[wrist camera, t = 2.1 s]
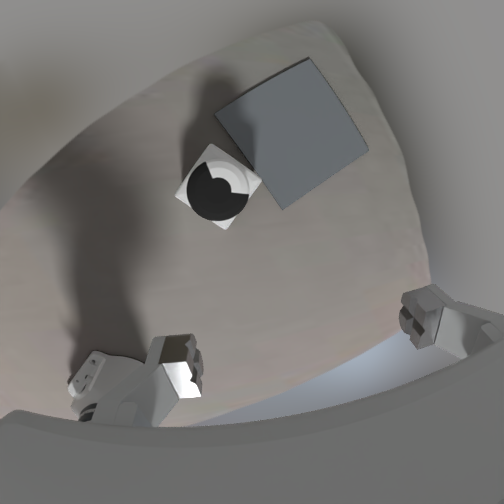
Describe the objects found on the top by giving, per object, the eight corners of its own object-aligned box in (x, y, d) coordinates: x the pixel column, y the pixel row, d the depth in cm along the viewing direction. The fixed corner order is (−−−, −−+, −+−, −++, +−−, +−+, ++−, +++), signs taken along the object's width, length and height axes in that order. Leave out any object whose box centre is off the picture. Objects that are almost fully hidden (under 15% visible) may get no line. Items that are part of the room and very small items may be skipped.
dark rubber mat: (281, 209, 39) (282, 209, 39) (214, 114, 34) (214, 113, 34) (367, 150, 38) (369, 150, 38) (308, 59, 33) (309, 58, 33)
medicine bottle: (224, 219, 39) (227, 242, 27) (181, 190, 37) (165, 201, 26) (255, 176, 38) (271, 181, 26) (211, 146, 36) (208, 137, 24)
